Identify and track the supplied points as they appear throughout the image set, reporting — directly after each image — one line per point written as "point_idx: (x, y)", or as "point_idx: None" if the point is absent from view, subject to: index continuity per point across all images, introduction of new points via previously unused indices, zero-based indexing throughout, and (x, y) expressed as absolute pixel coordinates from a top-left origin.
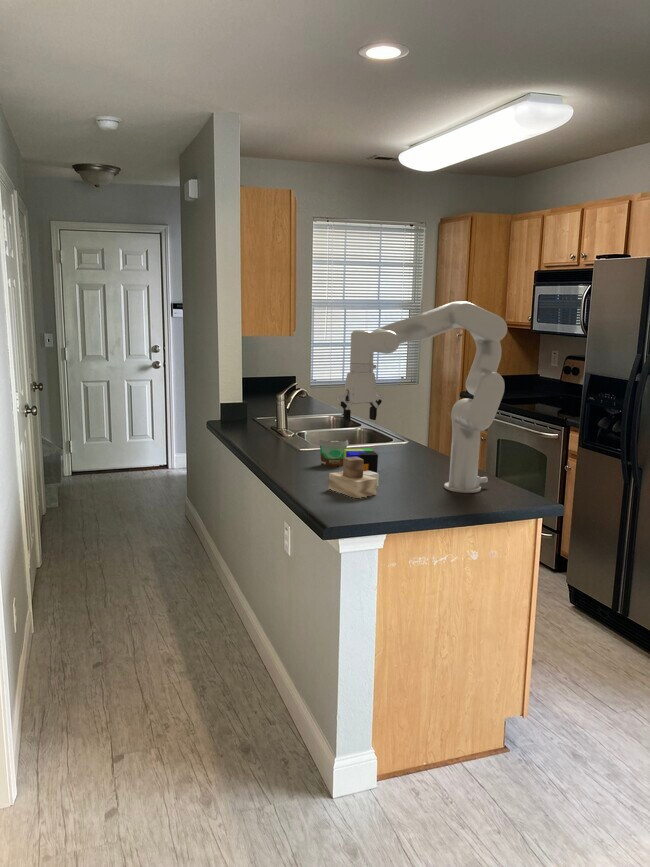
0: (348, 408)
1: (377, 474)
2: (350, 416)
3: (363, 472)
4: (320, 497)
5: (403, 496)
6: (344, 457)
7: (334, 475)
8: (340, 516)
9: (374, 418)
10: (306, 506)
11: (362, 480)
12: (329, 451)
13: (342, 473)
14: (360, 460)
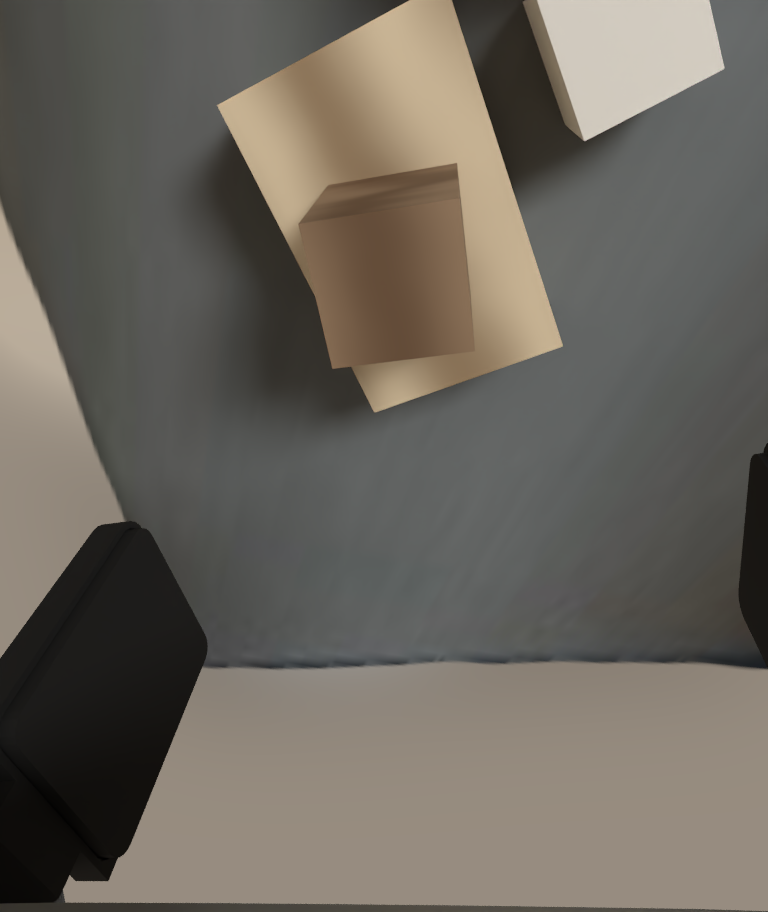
0: (45, 901)
1: (702, 78)
2: (176, 729)
3: (587, 8)
4: (178, 293)
5: (710, 351)
6: (307, 229)
7: (256, 179)
8: (243, 584)
9: (764, 629)
10: (97, 440)
11: (432, 377)
12: None
13: (337, 129)
14: (440, 352)
